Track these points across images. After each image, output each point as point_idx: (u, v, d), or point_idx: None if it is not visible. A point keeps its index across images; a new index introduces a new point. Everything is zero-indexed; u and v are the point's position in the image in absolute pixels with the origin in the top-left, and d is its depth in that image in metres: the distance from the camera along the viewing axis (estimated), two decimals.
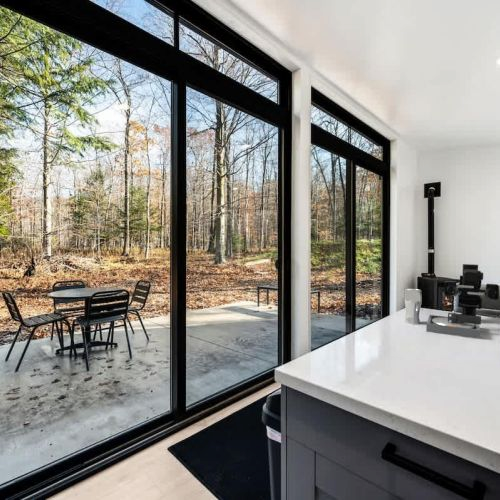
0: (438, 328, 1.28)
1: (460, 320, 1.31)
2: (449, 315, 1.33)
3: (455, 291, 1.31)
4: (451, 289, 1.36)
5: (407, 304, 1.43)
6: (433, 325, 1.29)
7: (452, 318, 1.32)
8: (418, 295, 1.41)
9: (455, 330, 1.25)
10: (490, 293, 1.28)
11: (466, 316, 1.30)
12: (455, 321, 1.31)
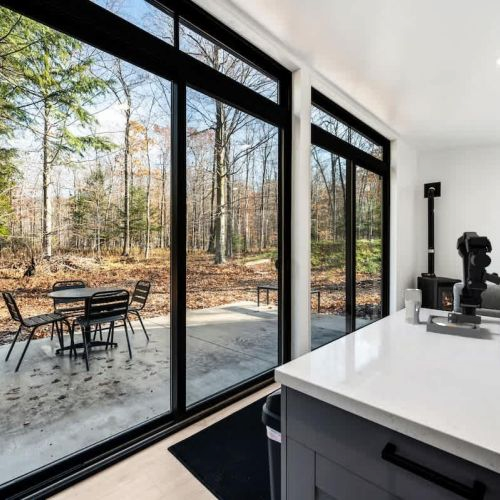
0: (438, 328, 1.28)
1: (460, 320, 1.31)
2: (449, 315, 1.33)
3: (476, 300, 1.30)
4: (476, 289, 1.28)
5: (407, 304, 1.43)
6: (433, 325, 1.29)
7: (452, 318, 1.32)
8: (418, 295, 1.41)
9: (455, 330, 1.25)
10: None
11: (466, 316, 1.30)
12: (455, 321, 1.31)
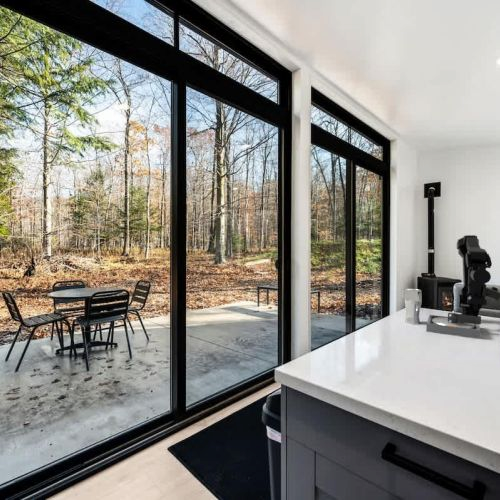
0: (438, 328, 1.28)
1: (460, 320, 1.31)
2: (449, 315, 1.33)
3: (475, 314, 1.33)
4: None
5: (407, 304, 1.43)
6: (433, 325, 1.29)
7: (452, 318, 1.32)
8: (418, 295, 1.41)
9: (455, 330, 1.25)
10: None
11: (466, 316, 1.30)
12: (455, 321, 1.31)
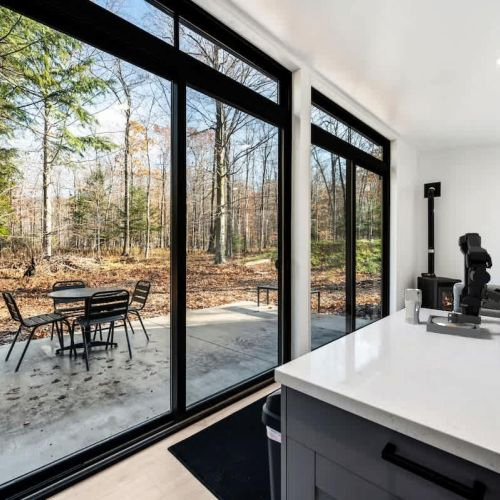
0: (438, 328, 1.28)
1: (460, 320, 1.31)
2: (449, 315, 1.33)
3: (475, 315, 1.30)
4: None
5: (407, 304, 1.43)
6: (433, 325, 1.29)
7: (452, 318, 1.32)
8: (418, 295, 1.41)
9: (455, 330, 1.25)
10: None
11: (466, 316, 1.30)
12: (455, 321, 1.31)
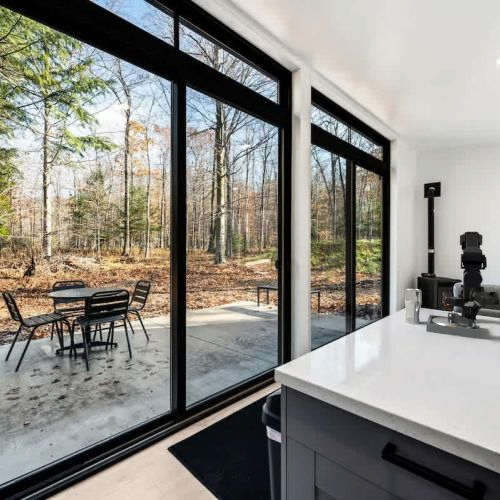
0: (438, 328, 1.28)
1: (455, 320, 1.30)
2: (448, 314, 1.34)
3: None
4: None
5: (407, 304, 1.43)
6: (433, 325, 1.29)
7: (448, 317, 1.33)
8: (418, 295, 1.41)
9: (455, 330, 1.25)
10: None
11: (459, 317, 1.28)
12: (451, 321, 1.32)
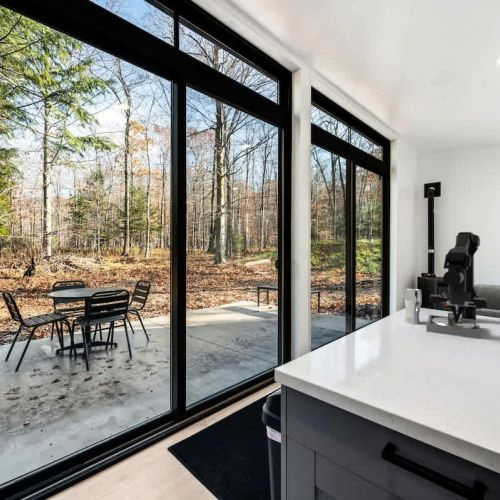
0: (438, 328, 1.28)
1: None
2: None
3: None
4: None
5: (407, 304, 1.43)
6: (433, 325, 1.29)
7: None
8: (418, 295, 1.41)
9: (455, 330, 1.25)
10: None
11: (449, 316, 1.30)
12: (448, 320, 1.33)
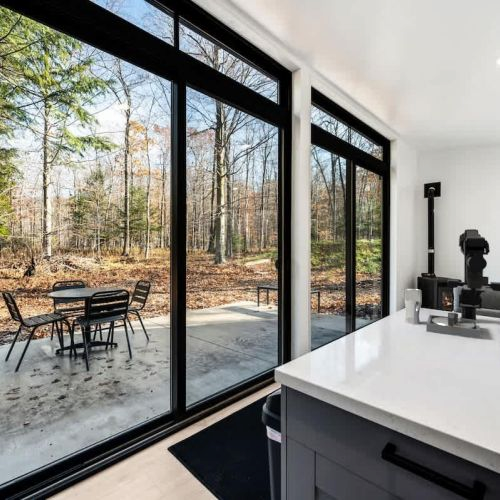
0: (438, 328, 1.28)
1: None
2: None
3: (470, 301, 1.31)
4: None
5: (407, 304, 1.43)
6: (433, 325, 1.29)
7: None
8: (418, 295, 1.41)
9: (455, 330, 1.25)
10: None
11: None
12: (448, 320, 1.33)
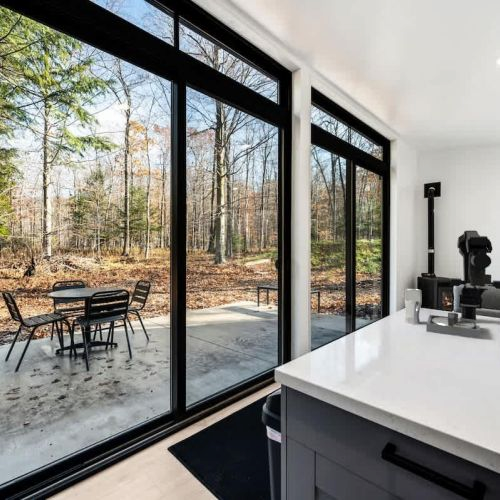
0: (438, 328, 1.28)
1: None
2: None
3: (473, 299, 1.32)
4: None
5: (407, 304, 1.43)
6: (433, 325, 1.29)
7: None
8: (418, 295, 1.41)
9: (455, 330, 1.25)
10: None
11: None
12: (448, 320, 1.33)
